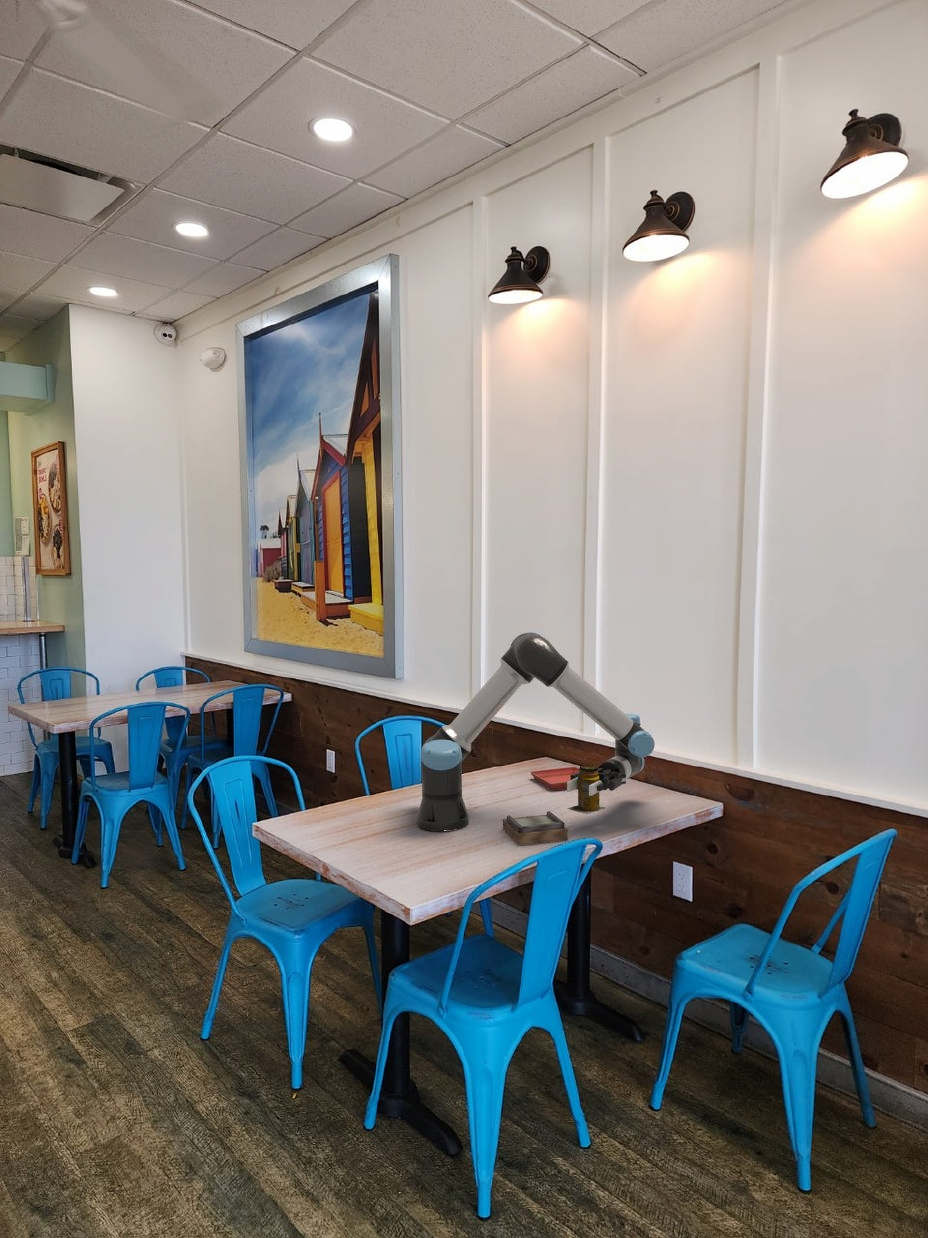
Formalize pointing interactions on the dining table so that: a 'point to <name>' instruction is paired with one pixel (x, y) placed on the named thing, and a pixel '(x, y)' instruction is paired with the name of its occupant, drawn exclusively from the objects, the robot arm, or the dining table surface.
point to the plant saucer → (555, 777)
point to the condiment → (587, 790)
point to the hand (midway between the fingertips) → (579, 788)
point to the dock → (535, 829)
